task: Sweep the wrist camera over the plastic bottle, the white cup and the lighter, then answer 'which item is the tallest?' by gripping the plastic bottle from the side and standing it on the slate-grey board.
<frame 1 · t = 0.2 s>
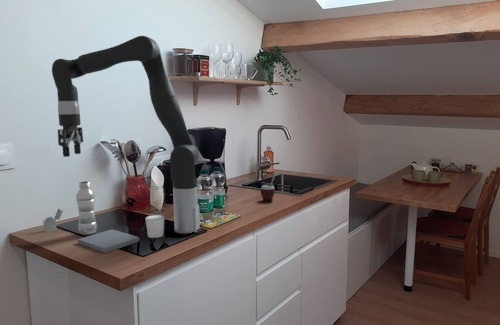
hand: (72, 155, 157), 29 cm above the worktop, tool pointing down, fingers open, 8 cm apart
white cup: (155, 235, 151), on the worktop
lighter: (54, 230, 159), on the worktop
plastic bottle: (88, 234, 153), on the worktop
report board: (108, 242, 144), on the worktop
mate gourd: (268, 201, 203), on the worktop
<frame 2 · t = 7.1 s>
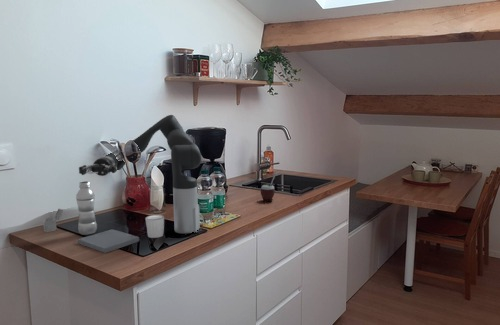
hand: (93, 172, 161), 22 cm above the worktop, tool horizontal, fingers open, 8 cm apart
nothing on the worktop moved.
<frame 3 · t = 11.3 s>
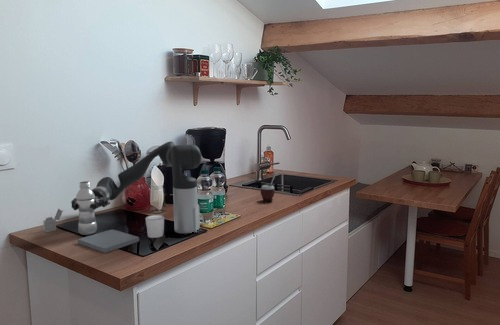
hand: (83, 207, 149), 11 cm above the worktop, tool horizontal, fingers closed on plastic bottle, 6 cm apart
plastic bottle: (88, 234, 153), on the worktop, touching gripper
everything else where it was.
when the fingers open (13 cm above the worktop, at t = 17.4 s): plastic bottle stays where it is, resting on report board.
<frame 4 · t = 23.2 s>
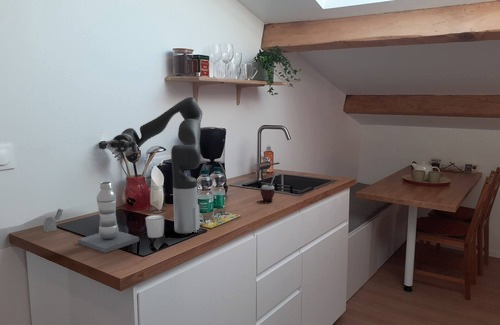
hand: (113, 146, 160), 32 cm above the worktop, tool horizontal, fingers open, 8 cm apart
plastic bottle: (109, 238, 144), point 1 cm above the worktop, touching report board
everything else where it was.
at the end: plastic bottle inside the target area on the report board (0.2 cm from its centre), point 1.3 cm above the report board's base; plastic bottle tilted 0°; the gripper is holding nothing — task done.
